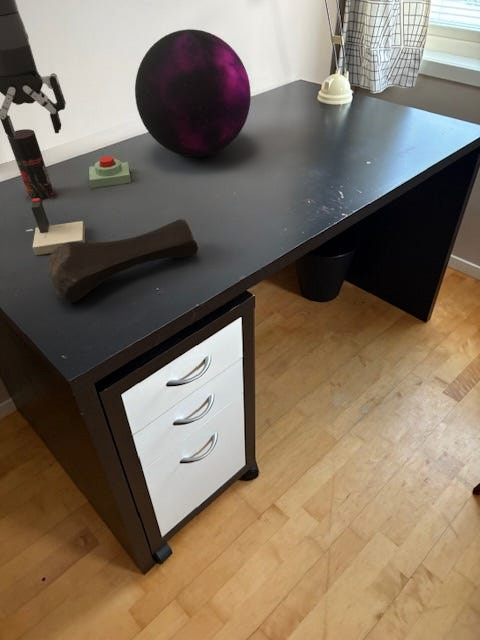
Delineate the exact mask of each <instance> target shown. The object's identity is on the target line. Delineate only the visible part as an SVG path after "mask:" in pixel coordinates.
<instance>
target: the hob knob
mask: <svg viewBox="0 0 480 640" xmlns="http://www.w3.org/2000/svg"><path fill="white" fill-rule="evenodd" d="M30 208H31V211H32V213H33V217H34V220H35V222H36V225H37V228H39V230H40V233H44V232H48V229H49V226H50V222H49V219H48V216H47V213H46V211H45V206H44V205H43V200H41V199H40V198H36V199H33V200H32V201H31V207H30Z"/></svg>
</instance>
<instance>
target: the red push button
mask: <svg viewBox="0 0 480 640" xmlns="http://www.w3.org/2000/svg"><path fill="white" fill-rule="evenodd" d="M114 159H115V158H114V157H113V156H111V155H105V156H102V157H100V158H99V160H98V161H100V166H101V167H104V168H107V167H112V166H114V165H115V162H114Z"/></svg>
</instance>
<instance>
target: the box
mask: <svg viewBox="0 0 480 640" xmlns="http://www.w3.org/2000/svg"><path fill="white" fill-rule="evenodd" d="M114 162H115V165H114V166H112V167H107V168H104V167H101V166H100V161H99V160H98V161H97V162H95V163H94V165H93V166H89V168H88V169H89V171H88V172H89V175H88V181H89V184H90V185H89V186H90V188H91V189H95V188H102V187H109V186H118V185H125V184H131V183H132V179H131V172H130V166H129V162H128V161H126V162H121V160H119V159H116V158H114Z"/></svg>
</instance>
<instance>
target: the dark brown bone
mask: <svg viewBox="0 0 480 640" xmlns="http://www.w3.org/2000/svg"><path fill="white" fill-rule="evenodd" d="M198 249H199V246H198V242H197V241H196V240H195V238H194V234H193V232H192V230H191V228H190V225H189V223H188V222H187V220H185V219H184V218H179V219H176V220H174V221H172V222H170V223H168V224H165V225H163V226H160V227H159V228H156V229H153V230H151V231H148V232H146V233H142V234H139V235H137V236H133V237H132V236H131V237H128V238H123V239H119V240H112V241H111V240H110V241H96V242H95V241H92V242H90V241H87V242H86V241H85V242H67V243H64V244H62V245H61V246H59V247H58V248H57V249H55V250H54V252H53V253H51V255H50V257H49V262H48V270H49V272H48V273H49V275H50V279H51V282H52V285H53V287H54V292H55V294H56V296H57V298H58V299H60V300H61V301H63V302H66V303H70V304H72V303H73V304H74V303H75V302H77V301H79V300H81V299H82V298H83V297H84V296H86V295H88V293H90V292H91V291H92V290H93V289H95V288H97V287H98V286H99V285H100V284H103V282H106V281H107V280H108V279H110V278H113V276H116V275H117V274H119V273H122V272H123V271H125V270H129V269H130V268H133V267H136V266H138V265H139V266H140V265H142V264H146V263H149V262H154V261H158V260H165V259H173V258H186V257H191V256H193V255H195V254H197V252H198Z"/></svg>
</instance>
